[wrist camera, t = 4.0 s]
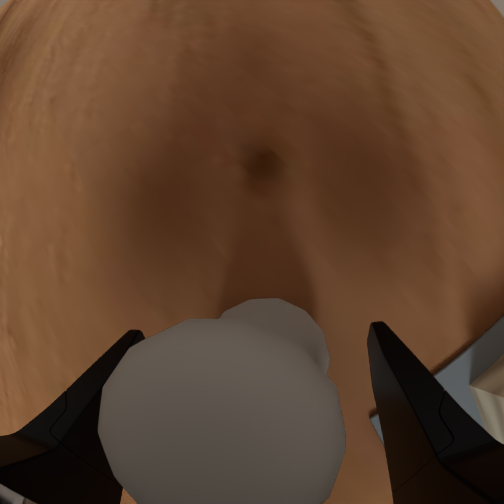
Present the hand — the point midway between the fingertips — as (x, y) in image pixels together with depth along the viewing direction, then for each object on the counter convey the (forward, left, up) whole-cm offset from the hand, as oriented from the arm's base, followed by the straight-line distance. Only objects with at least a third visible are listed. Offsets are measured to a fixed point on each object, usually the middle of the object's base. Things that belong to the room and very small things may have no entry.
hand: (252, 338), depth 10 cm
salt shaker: (-1, -1, -7) cm, 7 cm away
